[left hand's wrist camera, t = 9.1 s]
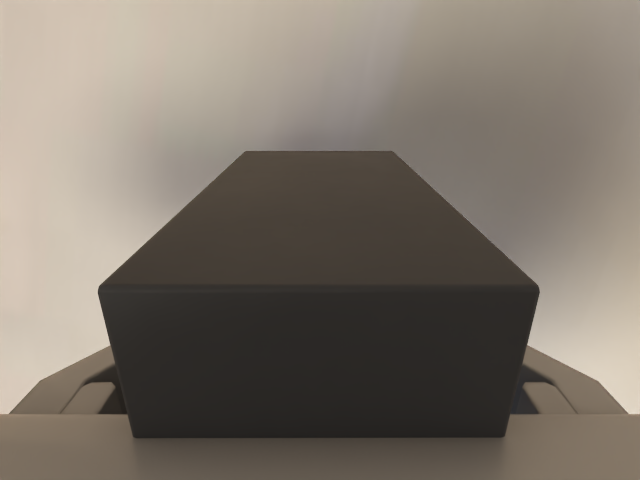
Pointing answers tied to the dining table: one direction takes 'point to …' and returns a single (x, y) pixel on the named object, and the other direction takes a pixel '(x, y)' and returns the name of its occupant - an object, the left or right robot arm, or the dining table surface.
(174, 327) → the bar
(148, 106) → the dining table surface
